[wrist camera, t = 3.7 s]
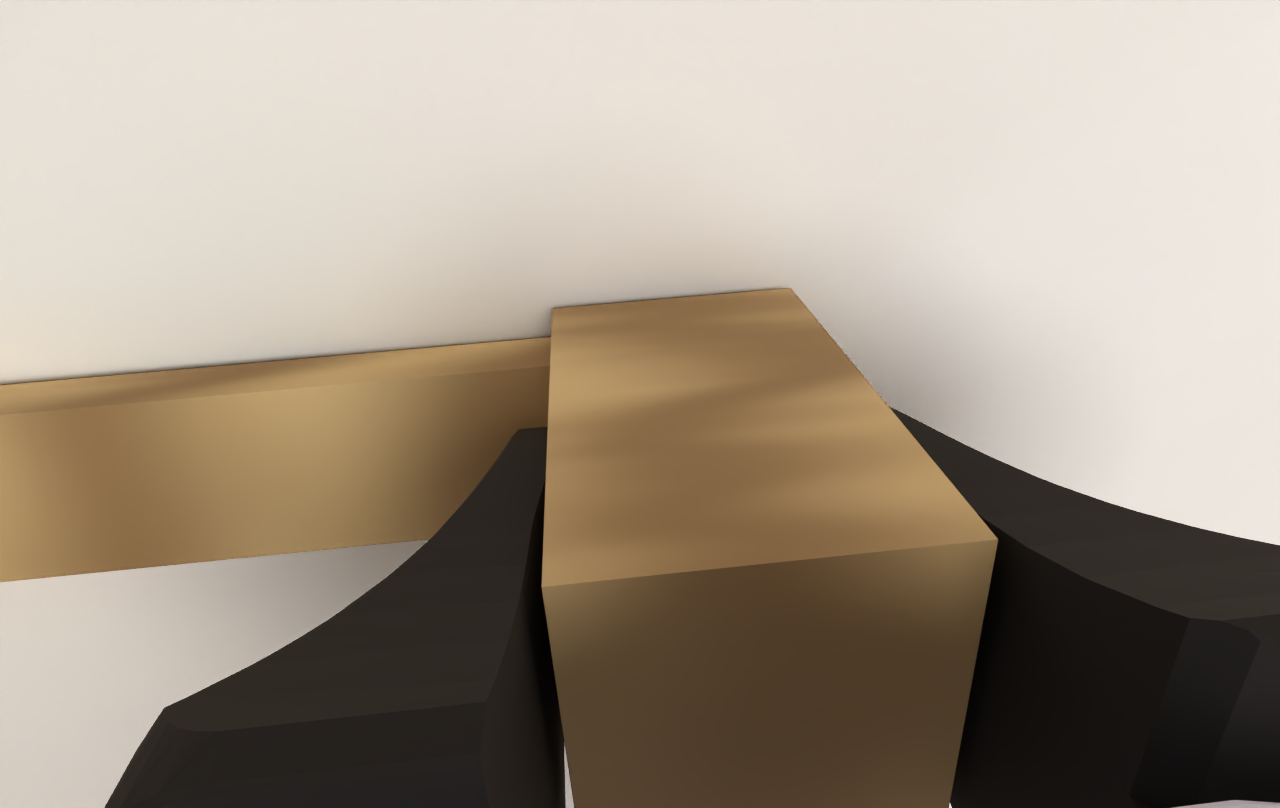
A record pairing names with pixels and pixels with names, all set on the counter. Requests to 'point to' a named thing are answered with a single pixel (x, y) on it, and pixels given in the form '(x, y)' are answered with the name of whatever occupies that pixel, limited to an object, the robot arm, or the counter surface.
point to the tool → (584, 529)
